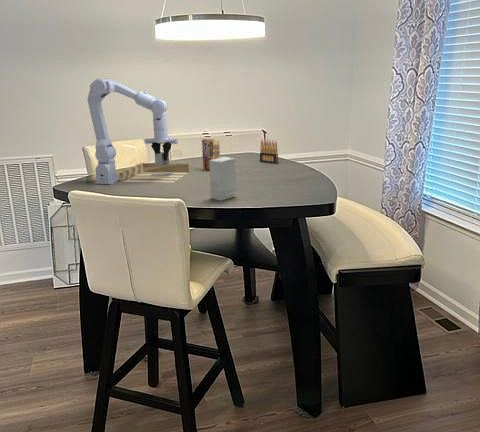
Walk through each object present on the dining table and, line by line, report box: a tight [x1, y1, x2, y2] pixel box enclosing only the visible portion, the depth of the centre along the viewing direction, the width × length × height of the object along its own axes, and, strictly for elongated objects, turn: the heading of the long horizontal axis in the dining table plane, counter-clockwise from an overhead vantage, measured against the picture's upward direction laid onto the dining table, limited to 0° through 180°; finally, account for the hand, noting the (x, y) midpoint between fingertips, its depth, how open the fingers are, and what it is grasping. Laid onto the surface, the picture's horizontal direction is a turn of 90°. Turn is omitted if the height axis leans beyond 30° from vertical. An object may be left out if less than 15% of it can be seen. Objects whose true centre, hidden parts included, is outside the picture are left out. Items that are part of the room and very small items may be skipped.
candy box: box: [201, 138, 221, 173], centre depth 242 cm, size 9×4×15 cm, turn 39°
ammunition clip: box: [259, 139, 279, 165], centre depth 261 cm, size 11×2×12 cm, turn 49°
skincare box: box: [209, 156, 237, 201], centre depth 189 cm, size 8×6×15 cm
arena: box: [119, 162, 190, 184], centre depth 229 cm, size 24×24×5 cm
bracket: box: [154, 151, 170, 165], centre depth 221 cm, size 8×6×5 cm
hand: (162, 160), depth 220 cm, fingers closed on bracket, 2 cm apart
